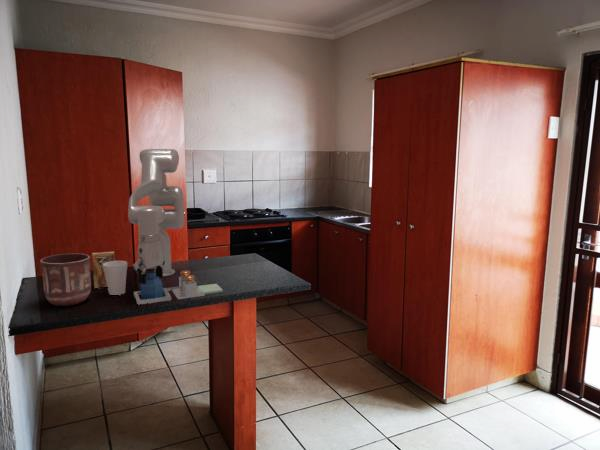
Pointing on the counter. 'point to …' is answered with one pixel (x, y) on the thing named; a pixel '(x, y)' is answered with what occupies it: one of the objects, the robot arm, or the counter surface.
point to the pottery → (66, 278)
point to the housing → (179, 292)
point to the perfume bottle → (151, 286)
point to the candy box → (100, 267)
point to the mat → (209, 288)
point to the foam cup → (115, 276)
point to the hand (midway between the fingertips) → (151, 280)
